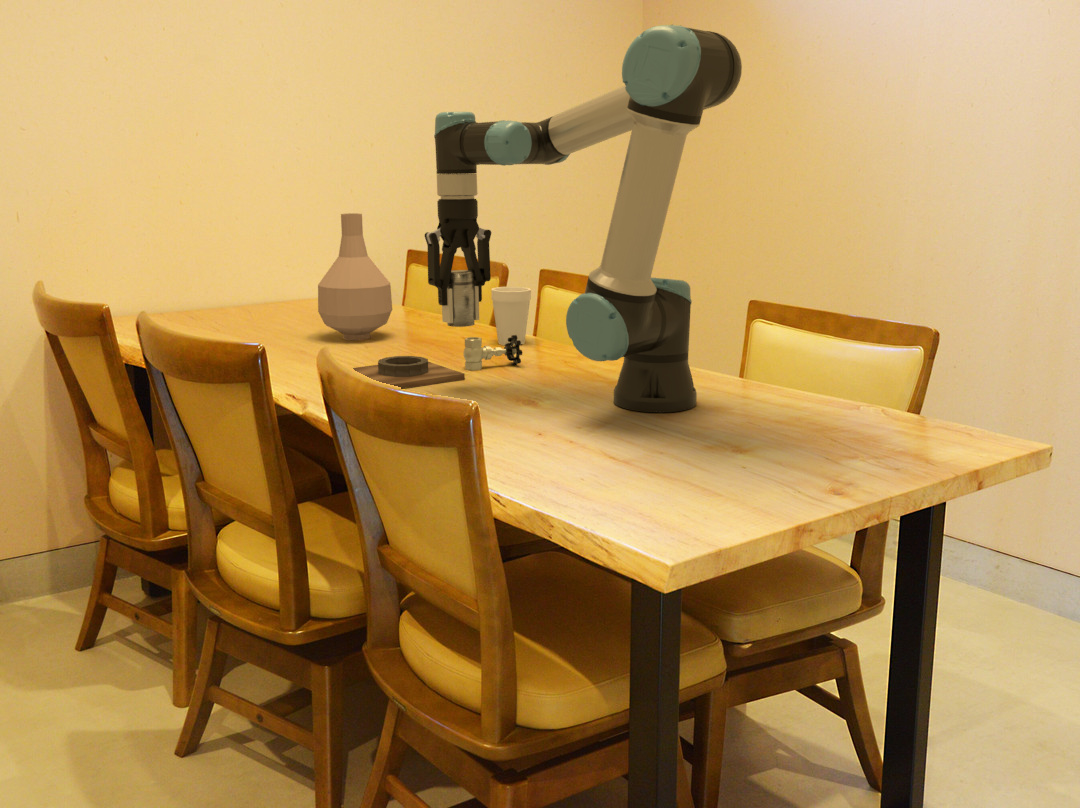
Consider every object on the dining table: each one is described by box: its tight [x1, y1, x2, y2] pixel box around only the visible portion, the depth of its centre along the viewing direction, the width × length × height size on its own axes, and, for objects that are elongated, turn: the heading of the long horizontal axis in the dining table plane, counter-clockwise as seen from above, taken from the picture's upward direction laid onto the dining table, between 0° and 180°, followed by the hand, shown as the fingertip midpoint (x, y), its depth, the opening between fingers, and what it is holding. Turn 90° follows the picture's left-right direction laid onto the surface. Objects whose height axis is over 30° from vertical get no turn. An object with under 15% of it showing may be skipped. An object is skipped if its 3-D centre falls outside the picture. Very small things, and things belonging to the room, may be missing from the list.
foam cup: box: [491, 286, 532, 346], centre depth 243 cm, size 10×9×13 cm
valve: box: [463, 335, 523, 372], centre depth 217 cm, size 7×7×12 cm
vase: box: [317, 212, 393, 341], centre depth 247 cm, size 18×18×30 cm
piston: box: [446, 269, 475, 328], centre depth 195 cm, size 5×5×10 cm
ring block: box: [352, 355, 466, 389], centre depth 208 cm, size 18×18×3 cm
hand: (461, 320), depth 196 cm, fingers closed on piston, 5 cm apart
